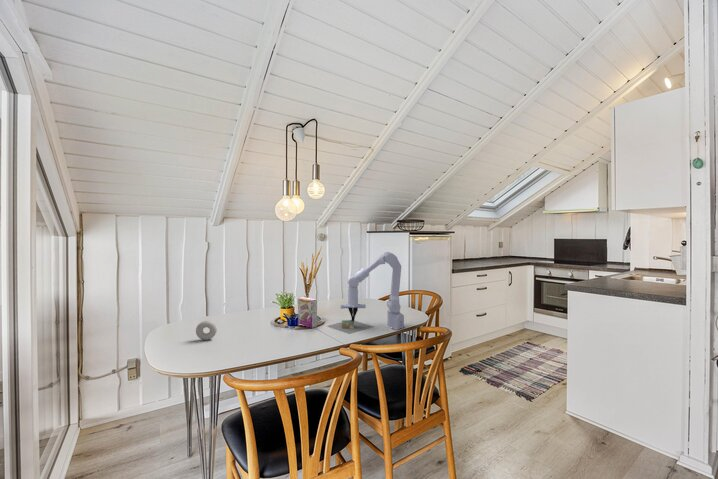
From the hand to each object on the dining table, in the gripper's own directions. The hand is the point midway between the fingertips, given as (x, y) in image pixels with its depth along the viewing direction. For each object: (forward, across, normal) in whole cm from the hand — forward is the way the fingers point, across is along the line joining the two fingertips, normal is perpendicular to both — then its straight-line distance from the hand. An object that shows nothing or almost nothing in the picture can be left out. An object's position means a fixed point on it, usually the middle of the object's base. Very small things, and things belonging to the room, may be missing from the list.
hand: (352, 320), depth 195 cm
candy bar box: (+4, -27, +5) cm, 27 cm away
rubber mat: (+4, -2, +1) cm, 5 cm away
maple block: (+2, 0, 0) cm, 2 cm away
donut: (+4, -77, -17) cm, 79 cm away
